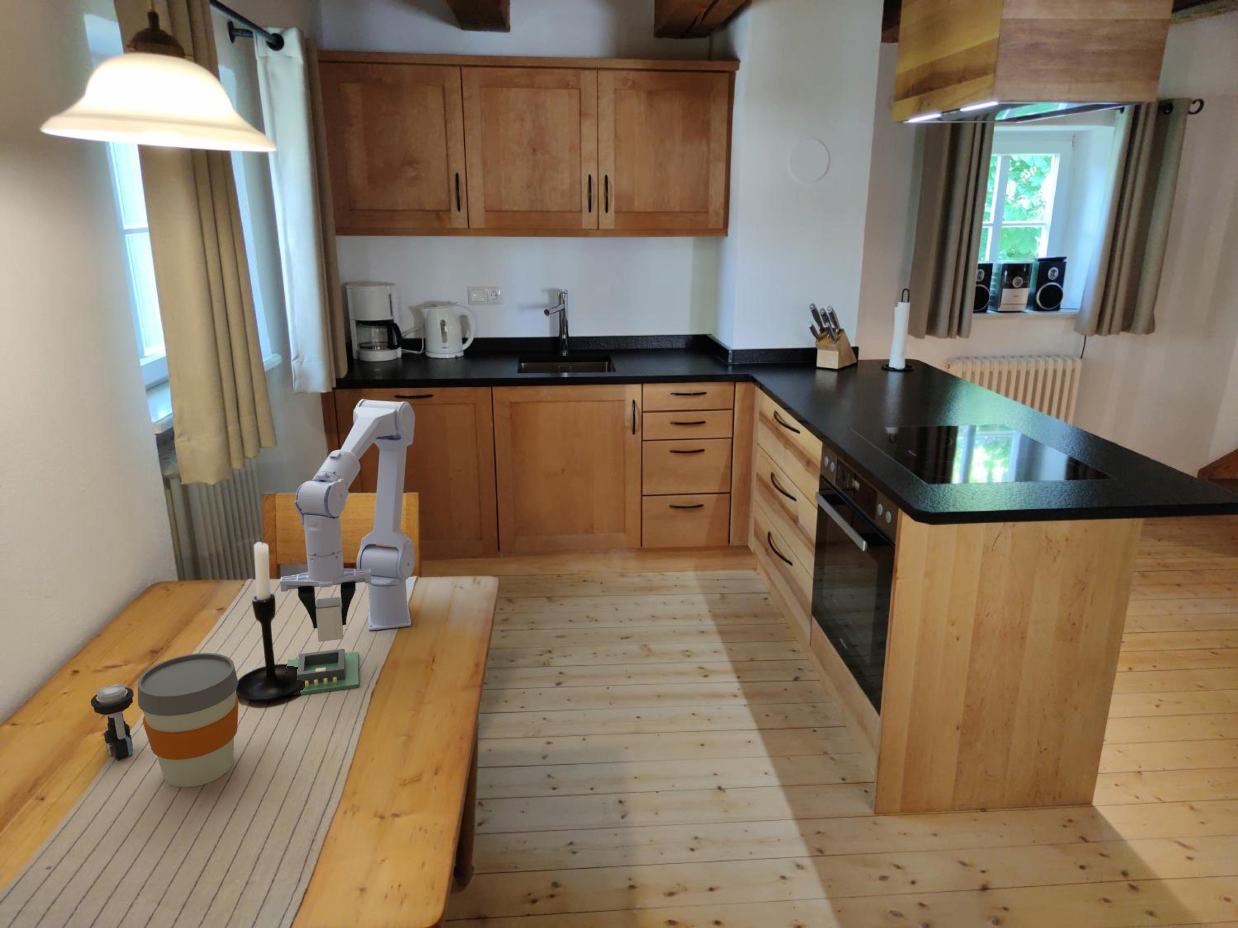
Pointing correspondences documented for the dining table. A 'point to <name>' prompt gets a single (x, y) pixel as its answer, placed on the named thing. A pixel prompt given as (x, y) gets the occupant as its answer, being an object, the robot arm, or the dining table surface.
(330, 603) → the plug
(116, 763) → the dining table surface
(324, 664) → the header socket
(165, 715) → the reusable coffee cup
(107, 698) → the push button
